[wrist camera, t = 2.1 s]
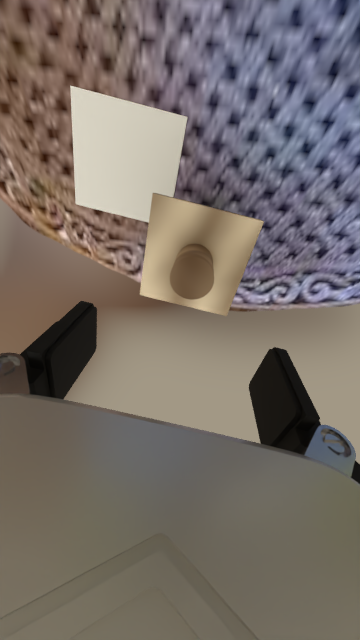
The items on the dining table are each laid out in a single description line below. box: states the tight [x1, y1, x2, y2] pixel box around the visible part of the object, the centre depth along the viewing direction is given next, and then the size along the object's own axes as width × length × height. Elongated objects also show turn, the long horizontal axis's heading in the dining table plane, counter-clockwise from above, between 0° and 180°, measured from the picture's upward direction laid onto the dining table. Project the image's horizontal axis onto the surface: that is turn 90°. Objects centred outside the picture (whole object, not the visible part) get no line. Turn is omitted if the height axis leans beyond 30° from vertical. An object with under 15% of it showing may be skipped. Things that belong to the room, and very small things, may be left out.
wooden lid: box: [140, 193, 264, 316], centre depth 22 cm, size 11×11×6 cm
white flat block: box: [71, 86, 187, 223], centre depth 37 cm, size 18×16×1 cm
